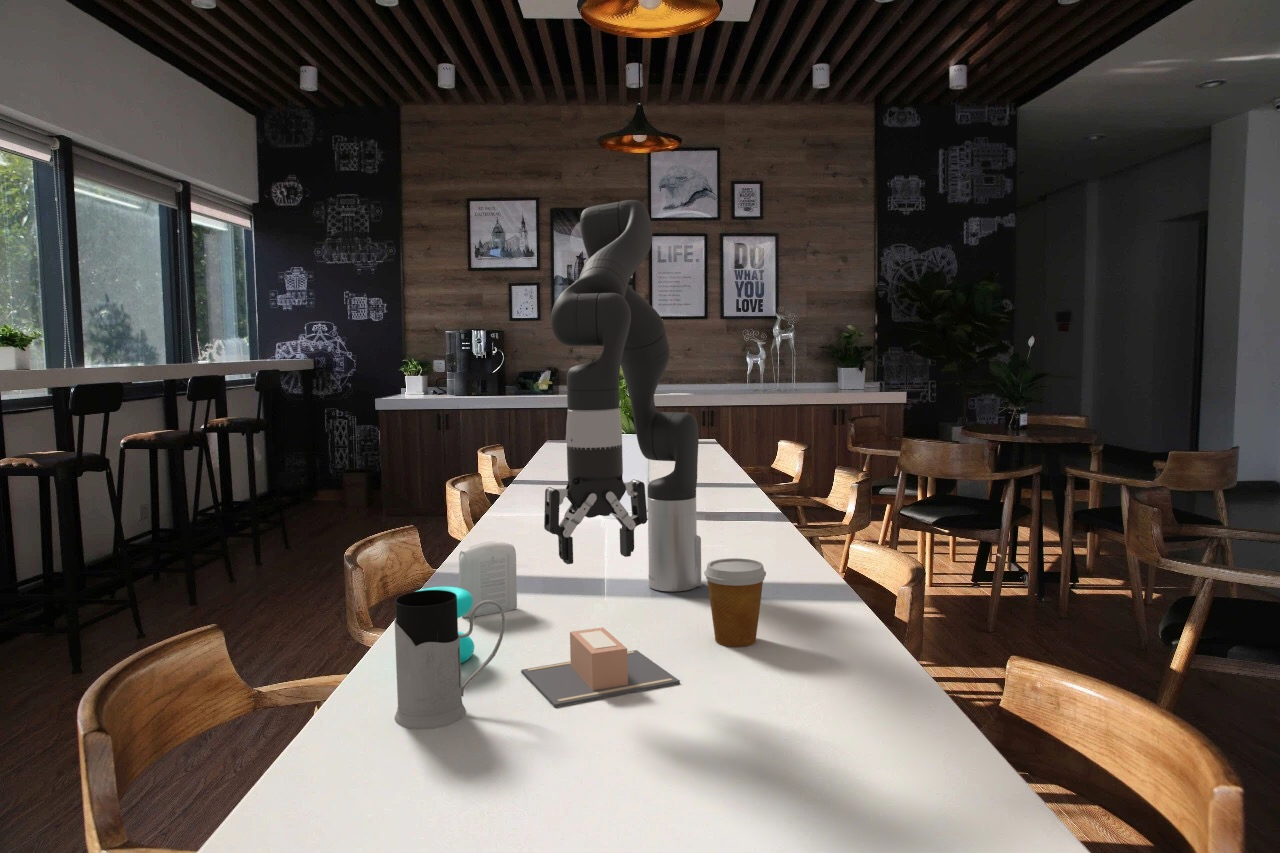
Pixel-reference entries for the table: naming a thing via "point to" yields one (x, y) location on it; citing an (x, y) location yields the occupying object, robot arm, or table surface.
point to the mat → (570, 688)
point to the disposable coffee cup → (735, 599)
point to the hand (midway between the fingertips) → (597, 559)
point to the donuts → (462, 608)
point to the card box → (598, 658)
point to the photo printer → (489, 576)
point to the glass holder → (431, 658)
